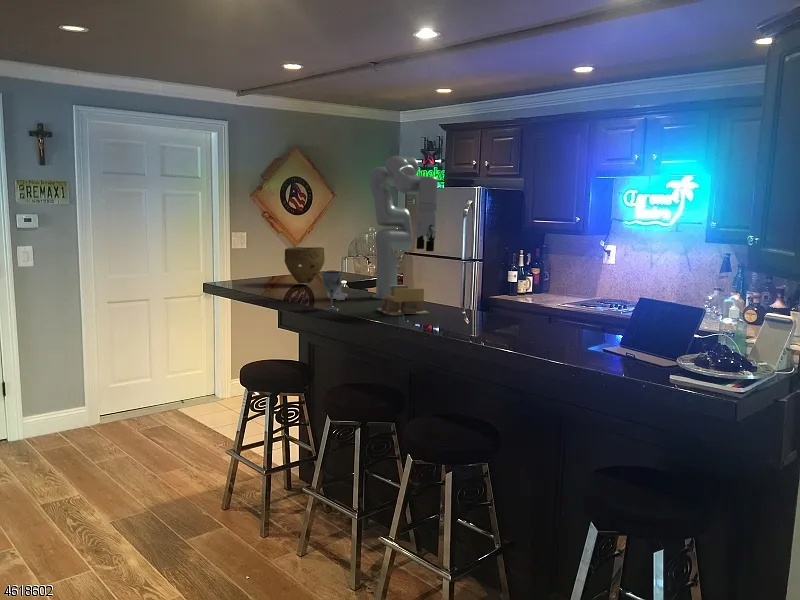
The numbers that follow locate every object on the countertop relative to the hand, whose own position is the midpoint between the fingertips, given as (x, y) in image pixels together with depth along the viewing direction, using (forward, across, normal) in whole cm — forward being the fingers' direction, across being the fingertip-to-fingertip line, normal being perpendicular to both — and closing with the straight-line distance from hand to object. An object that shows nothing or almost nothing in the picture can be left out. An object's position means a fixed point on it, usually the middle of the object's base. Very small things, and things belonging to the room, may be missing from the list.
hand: (424, 250), depth 265 cm
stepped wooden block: (+24, +4, -10) cm, 27 cm away
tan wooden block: (+19, +5, -10) cm, 23 cm away
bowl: (+28, -87, -29) cm, 96 cm away
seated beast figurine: (+26, -35, -26) cm, 51 cm away
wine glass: (+25, -7, -37) cm, 45 cm away
